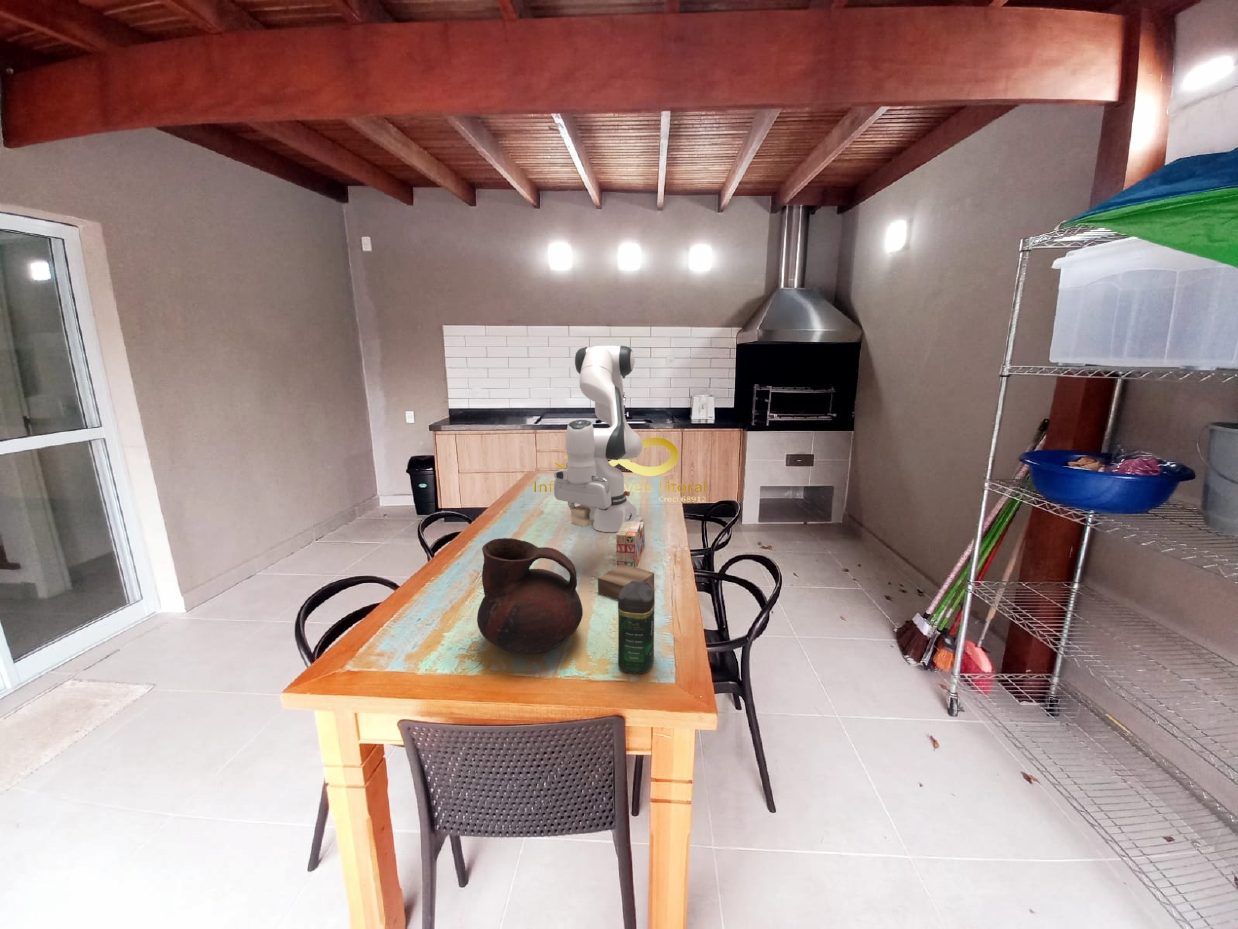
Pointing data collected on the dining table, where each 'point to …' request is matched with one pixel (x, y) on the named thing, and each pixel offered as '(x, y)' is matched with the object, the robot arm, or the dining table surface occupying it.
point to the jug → (526, 598)
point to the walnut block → (622, 579)
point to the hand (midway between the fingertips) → (582, 517)
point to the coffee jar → (636, 627)
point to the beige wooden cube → (580, 516)
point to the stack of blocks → (630, 543)
